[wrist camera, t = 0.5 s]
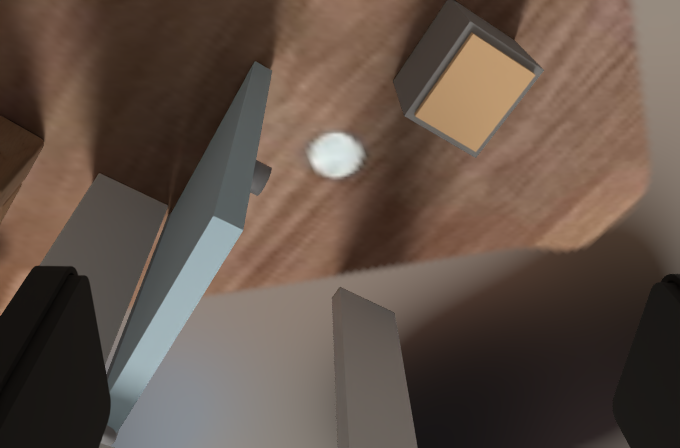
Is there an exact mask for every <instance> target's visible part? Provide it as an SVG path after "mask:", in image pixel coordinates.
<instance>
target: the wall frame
mask: <svg viewBox="0 0 680 448" xmlns="http://www.w3.org/2000/svg"><path fill="white" fill-rule="evenodd" d="M167 208H168V205H166V204H164V203H162V202H160V201H157V200H155V199H153V198H151V197H149V196H147V195H145V194H143V193H141V192H138V191H136V190H134V189H132V188H130V187H128V186H126V185H124V184H122V183H119V182H117V181H115V180H113V179H111V178H109V177H107V176H105V175H103V174H100V173H99V174H98V175H97V177H96V178H95V180H94V181H93V183H92V184H91V186H90V188H89V189H88V191H87V192H86V194H85V195H84V197H83V198H82V200H81V202H80V203H79V205H78V206H77V208H76V209H75V211H74V212H73V214H72V216H71V217H70V219H69V220H68V222H67V223H66V225H65V226H64V228H63V230H62V231H61V233H60V234H59V236H58V237H57V239H56V240H55V242H54V244H53V245H52V247H51V248H50V250H49V251H48V253H47V254H46V256H45V258H44V259H43V261H42V262H41V264H40V265H39V266H73V267H74V268H75V269H76V270H77V272H78V275H85V276H87V277H88V279H89V282H90V286H91V292H92V298H93V303H94V309H95V314H96V320H97V325H98V331H99V336H100V342H101V348H102V353H103V359H104V364H105V363H106V361H107V358H108V356H109V353H110V351H111V348H112V346H113V343H114V341H115V338H116V336H117V333H118V331H119V328H120V326H121V323H122V321H123V318H124V316H125V313H126V311H127V308H128V306H129V303H130V301H131V298H132V296H133V293H134V291H135V288H136V286H137V283H138V281H139V278H140V276H141V273H142V270H143V268H144V265H145V263H146V260H147V258H148V255H149V253H150V250H151V248H152V245H153V243H154V240H155V238H156V235H157V233H158V230H159V228H160V225H161V223H162V220H163V218H164V215H165V213H166V210H167ZM332 313H333V340H334V365H335V393H336V419H337V443H338V444H337V445H338V448H417V443H416V437H415V431H414V425H413V419H412V413H411V407H410V401H409V395H408V389H407V384H406V378H405V371H404V366H403V360H402V354H401V348H400V342H399V336H398V330H397V325H396V318H395V313H394V312H392V311H390V310H387V309H385V308H383V307H381V306H379V305H377V304H375V303H373V302H371V301H369V300H367V299H364V298H362V297H360V296H358V295H356V294H354V293H352V292H349V291H348V290H345V289H343V288H341V287H340V288H339V289H338V290H337V292H336V293H335V294H334V296H333V297H332ZM99 448H114V447H111V446H108V445H105V444H102V443H100V446H99Z"/></svg>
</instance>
